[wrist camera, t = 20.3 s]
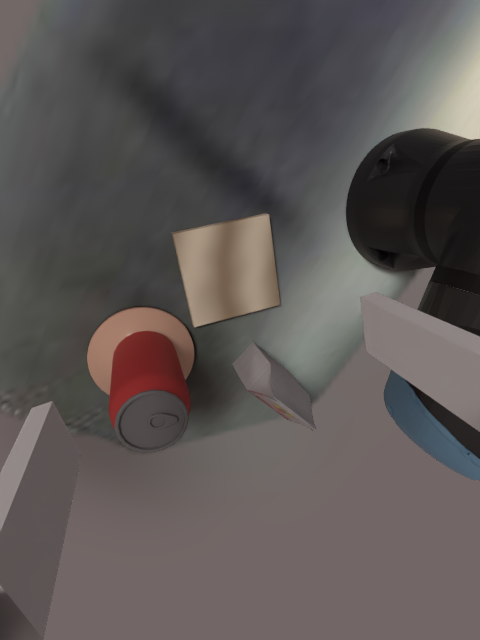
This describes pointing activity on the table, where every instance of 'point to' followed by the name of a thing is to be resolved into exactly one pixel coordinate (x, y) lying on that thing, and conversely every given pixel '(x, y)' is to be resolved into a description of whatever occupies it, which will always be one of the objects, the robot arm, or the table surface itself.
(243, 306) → the square tan board
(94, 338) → the coaster
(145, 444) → the beer can
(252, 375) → the printed cardboard carton
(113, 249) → the table surface
